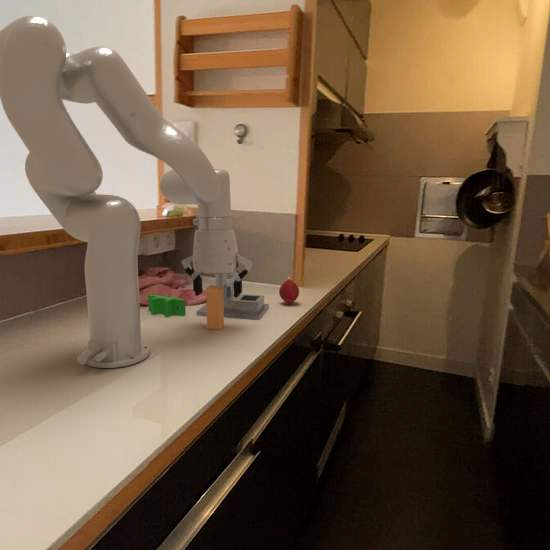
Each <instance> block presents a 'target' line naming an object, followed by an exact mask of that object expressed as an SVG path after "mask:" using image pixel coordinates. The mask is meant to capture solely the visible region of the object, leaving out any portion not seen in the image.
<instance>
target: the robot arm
mask: <svg viewBox="0 0 550 550" xmlns="http://www.w3.org/2000/svg"><path fill="white" fill-rule="evenodd" d="M63 101H68V102H73V103H78V104H86V105H87V104H89V105H90V104H94V103H96V105H97V106H98V107H99V108H100V110H101V111H102V112H103V114H104V115H105V116H106V117H107V119H108V120H109V121H110V123H111V124H112V125H113V126H114V128H115V129H116V130H117V131H118V133H119V134H120V136H121V137H122V138H123V139H124V141H125V142H126V143H127V144H129V145H130V146H131V147H133V148H135V149H137V150H138V151H141V152H143V153H146V154H148V155H150V156H152V157H154V158H157V159H159V160H160V161H162V162H163V163H165V164H166V165H167V166H169V167H170V168H171V170H168V171H167V172H166V173H165V174H163V175H162V177H161V179H160V181H159V190H160V193H161V194H162V196H163V197H164V198H165V199H166V200H167V201H169V202H171V203H173V204H179V205H194V206H195V205H197V218H193V219H192V224H193V226H197V228H198V229H196V230H195V232H194V236H193V237H194V238H193V246H192V247H193V251H192V252H193V253H192V254H191V255H190V256H188V257H186V258H184V259H182V260H181V261H180V262H181V264H182V266H183V268H184V269H185V272H186V274H187V275H188V276H189V277H190V279H191V280H192V283H193V292H194V296H200V295H201V294H203V292H204V291H203V277H202V276H201V275H202V274H212V275H215V274H227V275H231V276H232V277H234V278H235V281H234V283H233V284H234V288H233V294H234V297H235V298H237V297H238V296H239V295H240V294H243V279H244V278H245V277H246V276H247V275H248V274H249V273H250V270H251V268H252V266H253V261H251V260H250V259H247V258H246V257H244V256H242V255H240V254H239V251H238V250H239V249H238V243H237V236H236V232H235V229H232V203H231V200H232V199H231V179H230V174H229V172H228V171H227V170H225V169H215V168H214V166H213V164H212V163H211V162H210V160H209V158H208V157H207V155H206V154H205V153H204V151H203V150H202V149H201V148H200V146H198V144H197V143H196V142H195V141H194V140H193V139H191V138H190V137H188V135H187V134H185V133H184V132H182V131H181V130H180V129H179V128H177V127H176V126H175V125H173V124H172V123H171V122H169V121H168V120H167V119H165V117H164V116H163V115H162V114H161V113H160V112H159V110H158V108H157V106H155V104H154V103H153V101H152V100H151V97H149V95H148V94H147V93H146V91H145V89H144V88H143V87H142V84H141V83H140V82H139V81H138V79H137V77H135V75H134V73H133V72H132V71H131V69H130V68H129V66H128V65H127V63H126V61H125V60H124V59H123V57H122V56H121V55H120V54H119V53H117V51H116V50H114V49H112V48H110V47H106V46H93V47H90V48H87V49H84V50H82V51H79V52H77V53H73V52H67V46H66V42H65V39H64V37H63V35H62V33H61V31H59V29H58V27H57V26H56V25H54V23H52V22H51V21H50V20H48V19H47V18H45V17H42V16H38V15H26V16H21V17H20V18H17V19H15V20H13V21H12V22H10V23H9V24H7V25H6V26H5V27H4V28H2V29H1V30H0V103H1V106H2V108H3V111H4V113H5V115H6V117H7V119H8V121H9V123H10V124H11V126H12V127H13V129H14V130H15V132H16V133H17V135H18V137H19V139H20V140H21V141H22V142H23V144H24V146H25V147H26V149H27V150H28V152H29V153H28V154H27V155H26V159H25V161H24V162H25V163H24V170H25V176H26V178H27V181H28V182H29V183H28V184H29V185H30V186H31V188H32V189H33V191H34V192H35V194H36V195H37V196H38V198H39V199H40V200H41V202H43V204H44V205H45V207H46V208H47V210H48V211H49V212H50V214H51V215H52V216H53V217H54V219H55V220H56V222H57V223H58V224H59V225H60V226H61V228H62V229H63V230H64V231H65V232H66V233H67V234H68V235H69V236H71V237H72V238H74V239H76V240H79V241H81V242H85V243H87V244H86V246H87V248H86V251H85V258H84V279H85V280H84V281H85V291H86V292H85V293H86V302H87V303H86V304H87V317H88V331H89V341H88V342H87V345H88V348H86V349H85V350H84V351H83V352H82V353H80V354H78V355H77V357H76V361H77V363H78V364H79V365H82V366H83V365H87V366H90V367H93V368H99V369H115V368H116V369H117V368H122V367H127V366H131V365H135V364H137V363H139V362H142V361H144V360H145V359H147V358H148V357H149V355H150V353H151V348H150V346H149V344H148V343H147V342H144V341H142V327H141V325H142V324H141V308H140V307H141V306H140V289H139V288H140V285H139V269H138V268H139V267H138V265H139V264H138V261H139V259H138V255H139V254H138V252H139V242H140V238H141V237H140V236H141V228H142V227H141V225H142V224H141V218H140V214H139V212H138V210H137V209H136V207H135V205H133V204H132V203H131V202H130V201H129V200H127V199H125V198H124V197H121V196H118V195H114V194H102V193H101V194H100V193H99V194H97V192H96V191H97V190H98V189H99V187H100V186H101V184H102V182H103V178H104V174H103V169H102V166H101V163H100V162H99V159H98V158H97V156H96V154H95V153H94V152H93V150H92V149H91V147H90V145H89V144H88V142H87V141H86V139H85V138H84V136H83V135H82V133H81V132H80V129H78V127H77V126H76V123H75V122H74V121H73V119H72V116H70V113H69V112H68V110H67V108H66V106H65V104H64V102H63ZM191 262H192V266H193V267H192V266H191ZM239 264H242V265H243V266H244V268H243V270H242V271H240V269H239Z"/></svg>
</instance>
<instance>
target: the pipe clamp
mask: <svg viewBox="0 0 550 550" xmlns="http://www.w3.org/2000/svg"><path fill="white" fill-rule="evenodd" d="M147 302H148V303H147V304H148V311H149V312H150V313H151V315H152V316H156V315H164V318H169V317H172V316H181V317H185V316H186V299H183V298H179V297H173V296H172V297H171V296H164V295H157V294H149V295H147ZM151 315H150V316H151Z"/></svg>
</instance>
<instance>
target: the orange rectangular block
mask: <svg viewBox="0 0 550 550" xmlns="http://www.w3.org/2000/svg"><path fill="white" fill-rule="evenodd" d="M205 290H206V303H205V305H207V316H206V329H208V330H219V331H220V330H221V329H222V328H223V327H224V324H225V319H224V318H225V317H224V295H223V286H217V285H216V284H215V285H213V284H210V285H209V286H207V287H206V289H205Z"/></svg>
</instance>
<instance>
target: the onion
mask: <svg viewBox="0 0 550 550" xmlns="http://www.w3.org/2000/svg"><path fill="white" fill-rule="evenodd" d="M278 294H279V297H280V298H281V299H282V301H284V302H285V304H286V305H291V304H293V302H295V301H296V300H297V299H298V297H299V295H300V288H299V286H298V285H297V284H296V282H295V281H294V280H292V279H291V277H289V276H288V277H287V279H286V280H285V281H284V282H282V284H281V285H280V287H279V289H278Z"/></svg>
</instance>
